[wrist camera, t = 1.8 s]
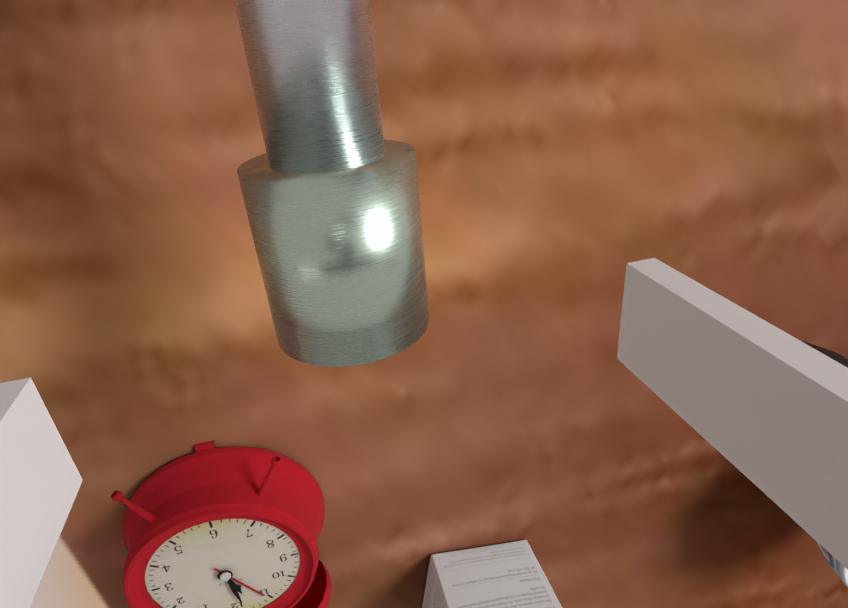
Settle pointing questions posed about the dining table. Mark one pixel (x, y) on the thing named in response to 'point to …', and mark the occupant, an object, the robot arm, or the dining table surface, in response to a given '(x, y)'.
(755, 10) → the dining table surface
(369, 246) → the shaft
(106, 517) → the dining table surface
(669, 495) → the dining table surface
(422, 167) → the dining table surface
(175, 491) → the alarm clock
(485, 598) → the supplement box
